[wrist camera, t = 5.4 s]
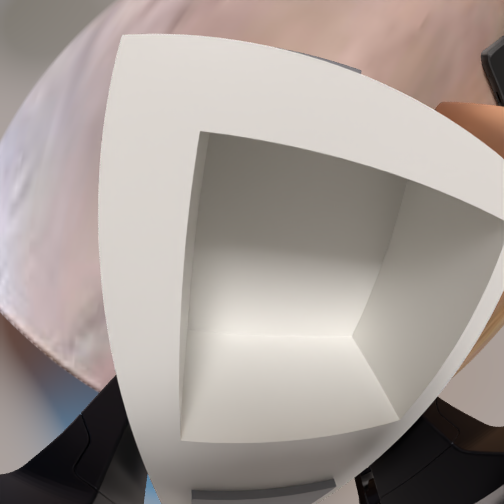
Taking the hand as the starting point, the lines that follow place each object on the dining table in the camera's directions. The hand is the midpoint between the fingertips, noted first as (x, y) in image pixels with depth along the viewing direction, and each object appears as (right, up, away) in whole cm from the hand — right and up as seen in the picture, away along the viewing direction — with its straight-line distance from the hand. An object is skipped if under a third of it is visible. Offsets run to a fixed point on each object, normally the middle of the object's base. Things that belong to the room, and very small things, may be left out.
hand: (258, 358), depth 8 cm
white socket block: (0, +1, +1) cm, 1 cm away
